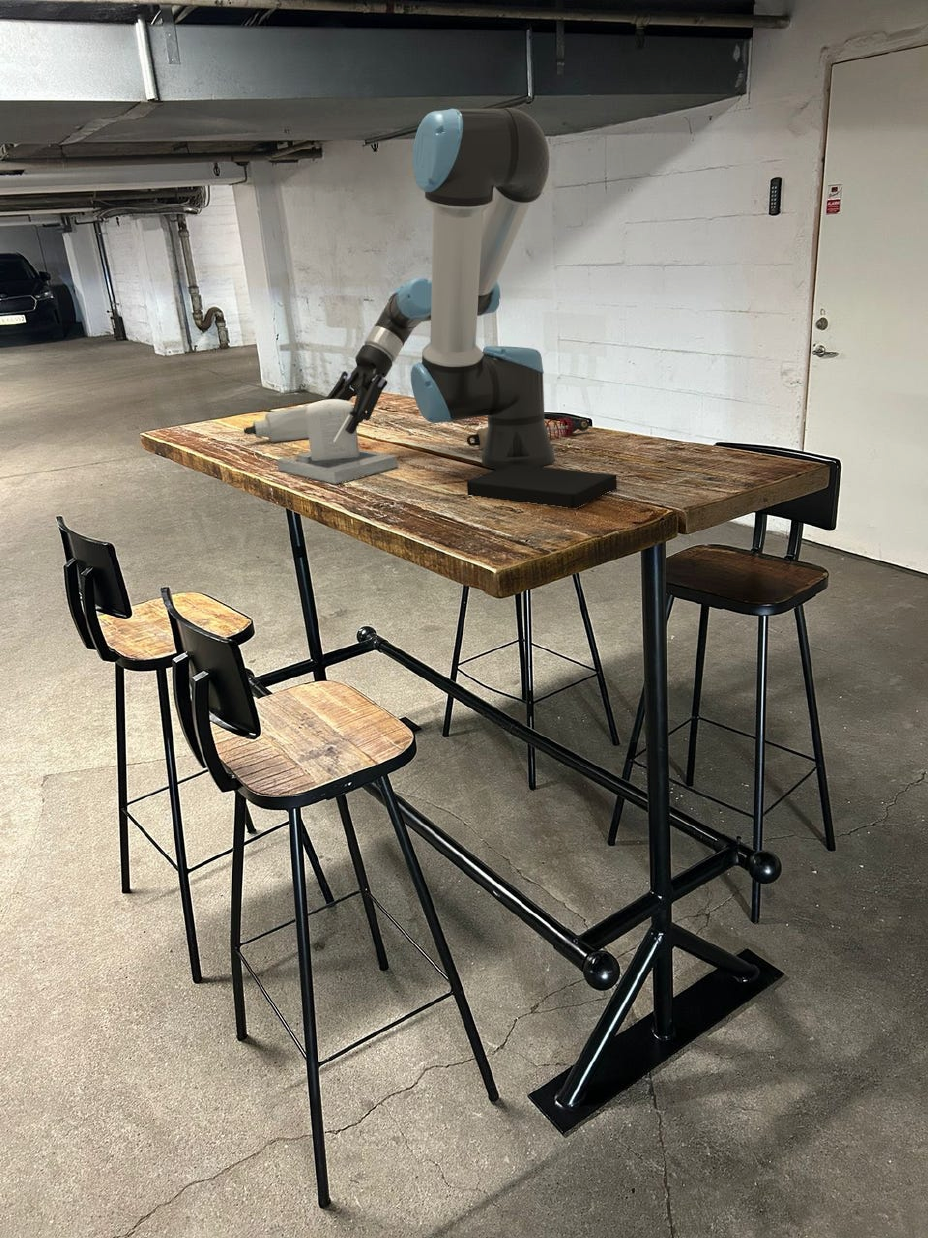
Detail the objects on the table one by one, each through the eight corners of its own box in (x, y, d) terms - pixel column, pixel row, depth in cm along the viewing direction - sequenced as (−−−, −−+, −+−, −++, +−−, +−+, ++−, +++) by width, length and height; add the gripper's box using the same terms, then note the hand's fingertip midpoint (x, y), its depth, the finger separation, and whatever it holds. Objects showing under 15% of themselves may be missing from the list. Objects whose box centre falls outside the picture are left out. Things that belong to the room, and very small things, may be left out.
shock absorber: (581, 416, 208) (461, 432, 200) (590, 411, 204) (468, 428, 195) (585, 436, 209) (465, 453, 200) (594, 432, 204) (472, 449, 195)
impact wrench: (232, 423, 241) (243, 413, 217) (314, 411, 248) (333, 401, 224) (238, 453, 242) (249, 446, 219) (319, 441, 249) (339, 433, 226)
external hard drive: (575, 511, 150) (574, 494, 149) (467, 497, 164) (466, 481, 163) (616, 490, 160) (616, 474, 159) (511, 478, 174) (510, 463, 173)
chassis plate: (398, 467, 188) (396, 456, 187) (335, 484, 179) (334, 472, 178) (338, 455, 204) (337, 445, 203) (278, 470, 194) (276, 459, 193)
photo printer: (359, 453, 193) (352, 395, 188) (360, 457, 189) (353, 398, 184) (312, 458, 192) (303, 400, 187) (311, 463, 188) (303, 403, 183)
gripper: (419, 366, 186) (367, 458, 183) (361, 362, 201) (311, 447, 198) (397, 343, 181) (343, 437, 178) (339, 341, 196) (287, 428, 192)
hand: (326, 442), depth 188 cm, fingers closed on photo printer, 8 cm apart
